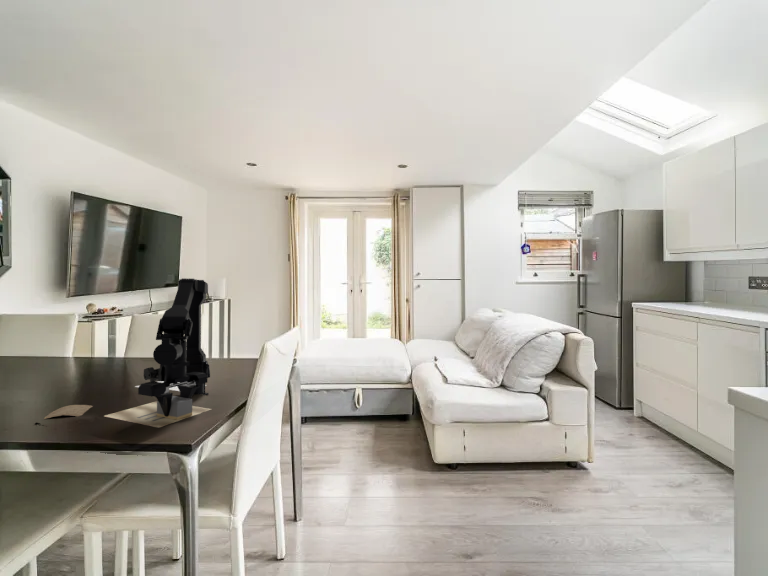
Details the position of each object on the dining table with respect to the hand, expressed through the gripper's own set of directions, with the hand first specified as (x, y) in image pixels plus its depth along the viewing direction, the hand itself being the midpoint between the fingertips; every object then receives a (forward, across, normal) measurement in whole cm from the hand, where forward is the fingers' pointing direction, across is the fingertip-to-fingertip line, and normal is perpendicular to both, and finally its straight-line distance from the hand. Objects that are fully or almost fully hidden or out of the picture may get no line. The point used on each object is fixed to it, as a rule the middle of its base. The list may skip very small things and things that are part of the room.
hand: (174, 413), depth 121 cm
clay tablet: (+3, +11, -29) cm, 31 cm away
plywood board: (+2, 0, -6) cm, 7 cm away
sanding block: (0, 0, 0) cm, 0 cm away
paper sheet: (+2, -22, -35) cm, 42 cm away
